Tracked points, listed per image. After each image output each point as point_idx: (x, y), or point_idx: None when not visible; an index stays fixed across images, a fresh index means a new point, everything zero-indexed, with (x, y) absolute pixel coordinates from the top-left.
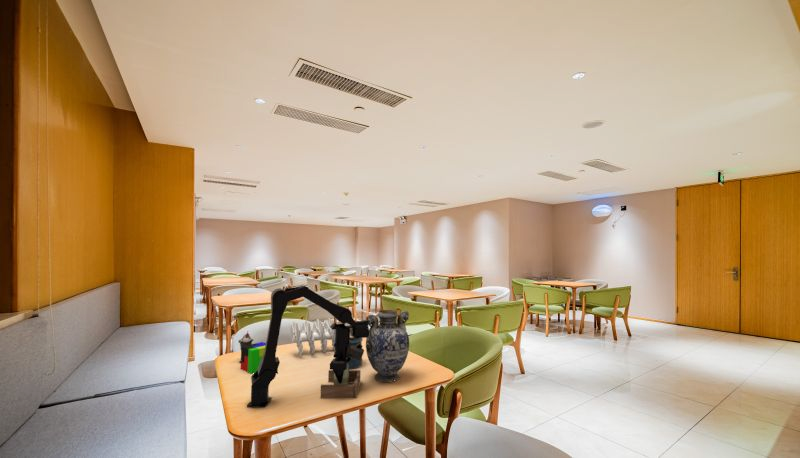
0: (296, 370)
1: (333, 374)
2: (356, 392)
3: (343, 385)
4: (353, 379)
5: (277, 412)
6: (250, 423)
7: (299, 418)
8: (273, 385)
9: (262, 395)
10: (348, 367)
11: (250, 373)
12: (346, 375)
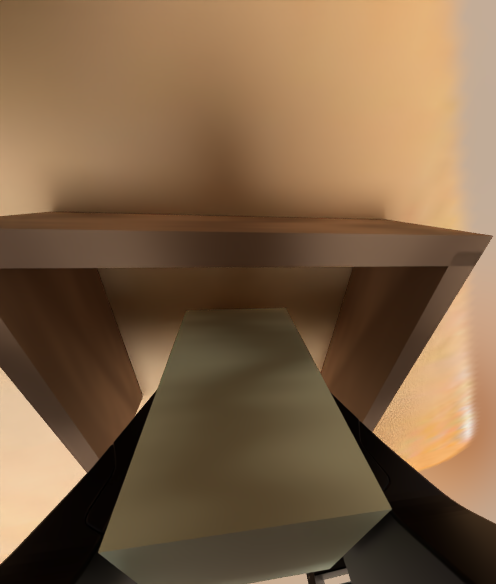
0: (48, 502)
1: (113, 426)
2: (393, 223)
3: (419, 348)
4: (82, 278)
5: (390, 442)
6: (420, 459)
7: (457, 395)
8: None
9: None
10: (190, 469)
11: None
12: (325, 387)
